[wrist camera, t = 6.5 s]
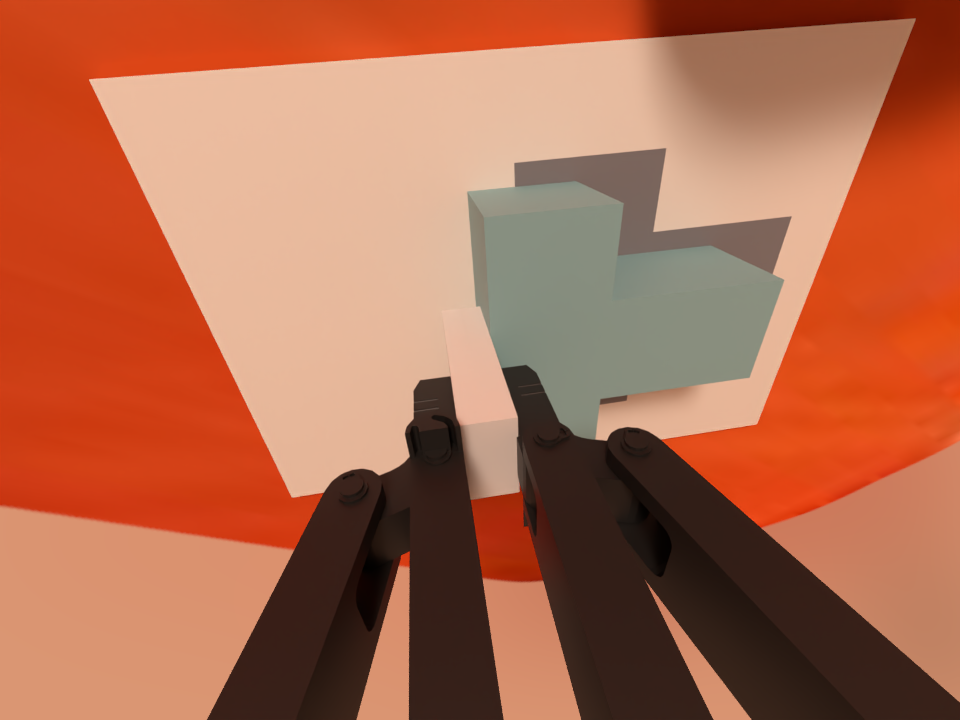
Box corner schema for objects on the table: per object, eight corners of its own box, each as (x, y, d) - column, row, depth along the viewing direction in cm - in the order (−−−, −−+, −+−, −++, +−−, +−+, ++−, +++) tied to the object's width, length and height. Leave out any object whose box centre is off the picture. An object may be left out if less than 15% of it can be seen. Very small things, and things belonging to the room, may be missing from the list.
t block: (467, 191, 14) (484, 217, 11) (730, 166, 15) (818, 183, 12) (483, 409, 20) (498, 470, 16) (677, 381, 21) (729, 435, 17)
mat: (100, 80, 12) (88, 79, 12) (900, 21, 14) (916, 18, 14) (294, 490, 22) (292, 497, 21) (750, 418, 24) (756, 424, 23)
